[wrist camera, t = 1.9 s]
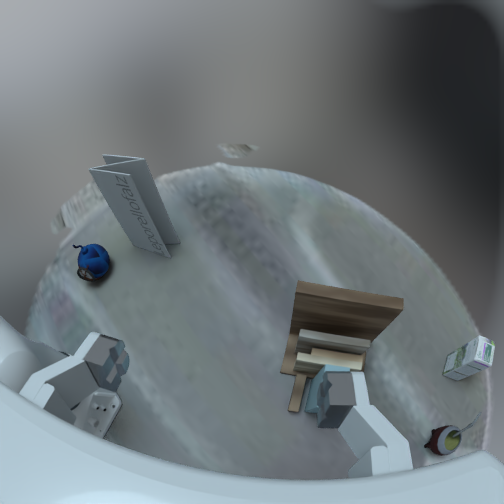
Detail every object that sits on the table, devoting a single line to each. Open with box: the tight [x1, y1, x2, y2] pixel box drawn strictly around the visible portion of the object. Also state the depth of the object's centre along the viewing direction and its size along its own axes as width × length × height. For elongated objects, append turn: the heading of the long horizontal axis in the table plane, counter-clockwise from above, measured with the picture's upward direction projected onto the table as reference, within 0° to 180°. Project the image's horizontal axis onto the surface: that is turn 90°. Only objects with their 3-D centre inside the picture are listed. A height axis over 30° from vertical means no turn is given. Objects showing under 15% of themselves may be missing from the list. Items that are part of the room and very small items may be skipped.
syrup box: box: [443, 335, 495, 381], centre depth 45 cm, size 6×6×14 cm
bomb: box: [73, 244, 110, 282], centre depth 69 cm, size 10×11×15 cm
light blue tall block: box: [305, 364, 350, 413], centre depth 45 cm, size 7×4×18 cm, turn 165°
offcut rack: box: [280, 281, 404, 412], centre depth 47 cm, size 19×18×22 cm
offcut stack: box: [293, 329, 371, 375], centre depth 51 cm, size 5×13×13 cm, turn 75°
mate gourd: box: [424, 412, 482, 456], centre depth 36 cm, size 8×8×15 cm
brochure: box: [89, 155, 180, 258], centre depth 67 cm, size 14×6×30 cm, turn 69°
